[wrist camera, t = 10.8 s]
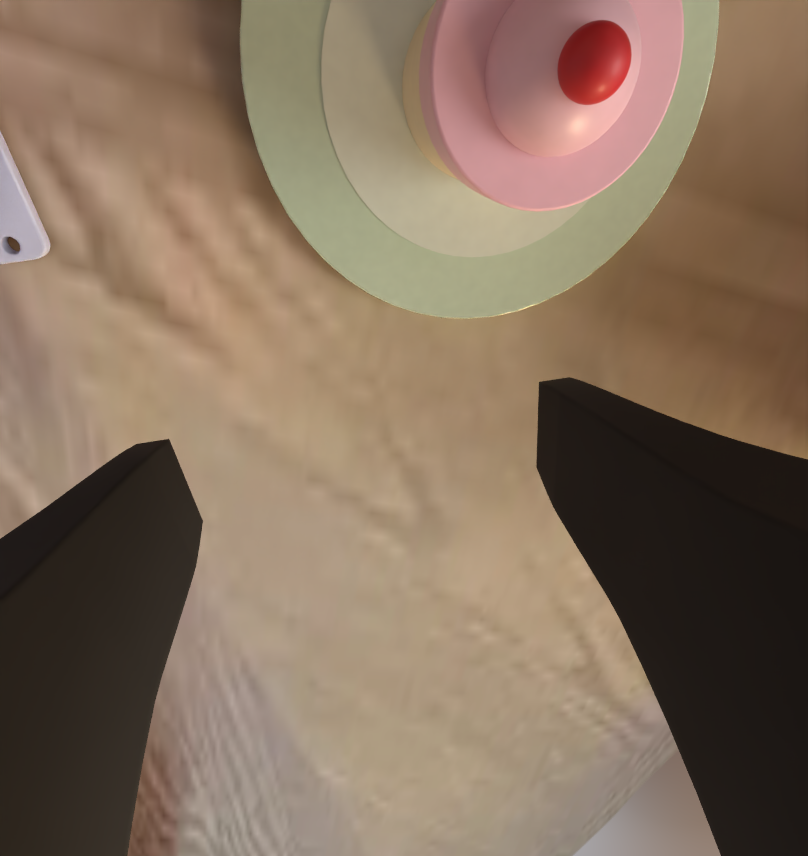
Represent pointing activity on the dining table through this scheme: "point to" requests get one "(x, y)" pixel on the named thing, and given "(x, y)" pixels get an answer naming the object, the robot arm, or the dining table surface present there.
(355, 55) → the plate
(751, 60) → the dining table surface
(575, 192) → the cupcake
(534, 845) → the dining table surface
